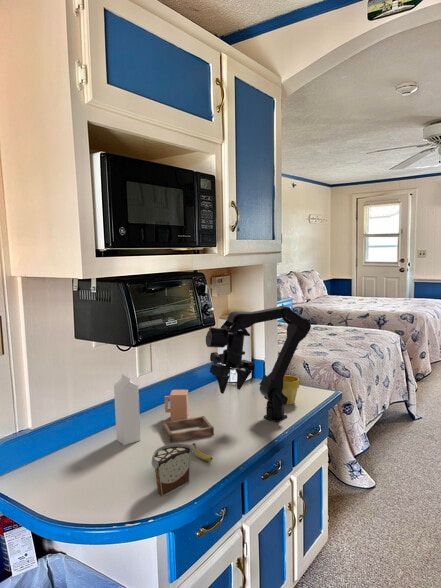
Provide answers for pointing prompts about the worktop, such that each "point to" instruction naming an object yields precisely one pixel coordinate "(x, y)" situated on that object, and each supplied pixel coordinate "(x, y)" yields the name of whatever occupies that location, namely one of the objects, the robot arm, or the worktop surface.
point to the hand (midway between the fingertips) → (230, 391)
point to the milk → (127, 411)
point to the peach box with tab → (177, 404)
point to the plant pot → (290, 388)
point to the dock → (190, 433)
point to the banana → (202, 454)
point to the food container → (171, 467)
